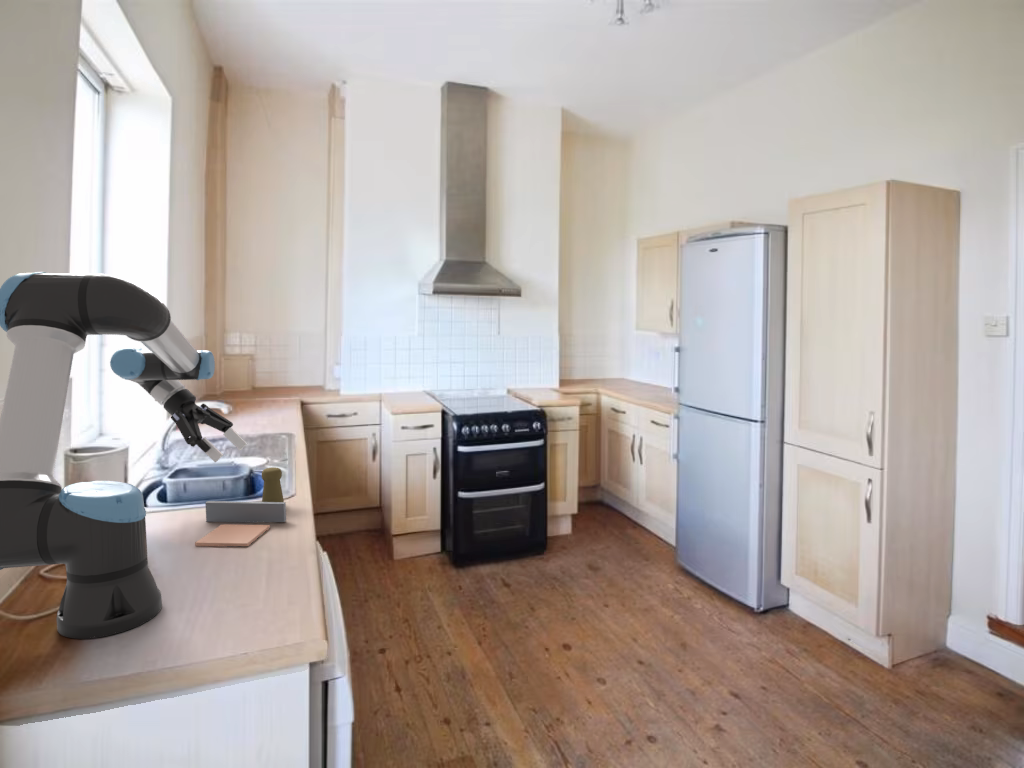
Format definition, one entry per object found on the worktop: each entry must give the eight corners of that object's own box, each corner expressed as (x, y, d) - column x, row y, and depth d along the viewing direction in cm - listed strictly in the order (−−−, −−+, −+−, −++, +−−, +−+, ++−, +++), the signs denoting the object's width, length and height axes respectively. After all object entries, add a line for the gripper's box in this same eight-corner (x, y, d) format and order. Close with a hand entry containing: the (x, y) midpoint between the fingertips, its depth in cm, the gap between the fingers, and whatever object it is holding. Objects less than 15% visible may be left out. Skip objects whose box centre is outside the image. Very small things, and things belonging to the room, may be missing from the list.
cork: (288, 504, 166) (287, 465, 165) (278, 511, 160) (276, 471, 159) (268, 503, 167) (266, 465, 165) (256, 510, 161) (255, 470, 159)
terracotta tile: (247, 546, 135) (247, 543, 135) (195, 545, 136) (195, 542, 136) (269, 528, 147) (269, 525, 147) (221, 527, 148) (221, 524, 147)
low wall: (284, 522, 151) (283, 503, 151) (206, 521, 152) (205, 502, 151) (286, 521, 152) (285, 502, 152) (208, 520, 153) (207, 501, 152)
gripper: (190, 400, 173) (244, 451, 175) (135, 414, 148) (197, 474, 150) (208, 382, 172) (261, 433, 174) (155, 393, 148) (217, 453, 149)
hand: (232, 452), depth 162 cm, fingers open, 13 cm apart
